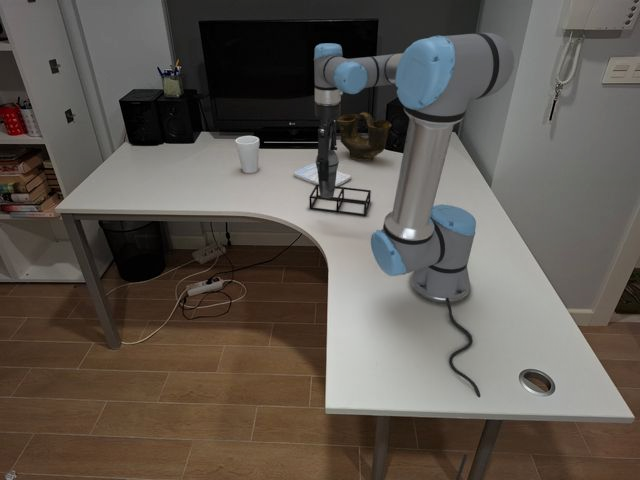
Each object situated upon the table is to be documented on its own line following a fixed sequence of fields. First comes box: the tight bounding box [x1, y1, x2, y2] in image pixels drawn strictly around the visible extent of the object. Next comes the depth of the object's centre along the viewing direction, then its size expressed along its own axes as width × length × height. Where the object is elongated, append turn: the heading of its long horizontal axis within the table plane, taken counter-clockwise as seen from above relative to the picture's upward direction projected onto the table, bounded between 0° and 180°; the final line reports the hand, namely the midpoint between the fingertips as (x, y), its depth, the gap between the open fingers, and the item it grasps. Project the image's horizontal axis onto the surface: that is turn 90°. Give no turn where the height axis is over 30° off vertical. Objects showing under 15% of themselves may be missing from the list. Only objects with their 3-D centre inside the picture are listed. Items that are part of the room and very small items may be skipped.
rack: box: [308, 184, 372, 217], centre depth 157 cm, size 10×20×5 cm, turn 76°
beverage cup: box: [315, 139, 340, 198], centre depth 138 cm, size 7×7×20 cm
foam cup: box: [234, 135, 260, 174], centre depth 181 cm, size 10×9×13 cm
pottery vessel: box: [336, 111, 393, 162], centre depth 190 cm, size 25×11×20 cm, turn 54°
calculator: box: [293, 162, 352, 187], centre depth 178 cm, size 13×20×2 cm, turn 49°
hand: (327, 175), depth 140 cm, fingers closed on beverage cup, 7 cm apart
